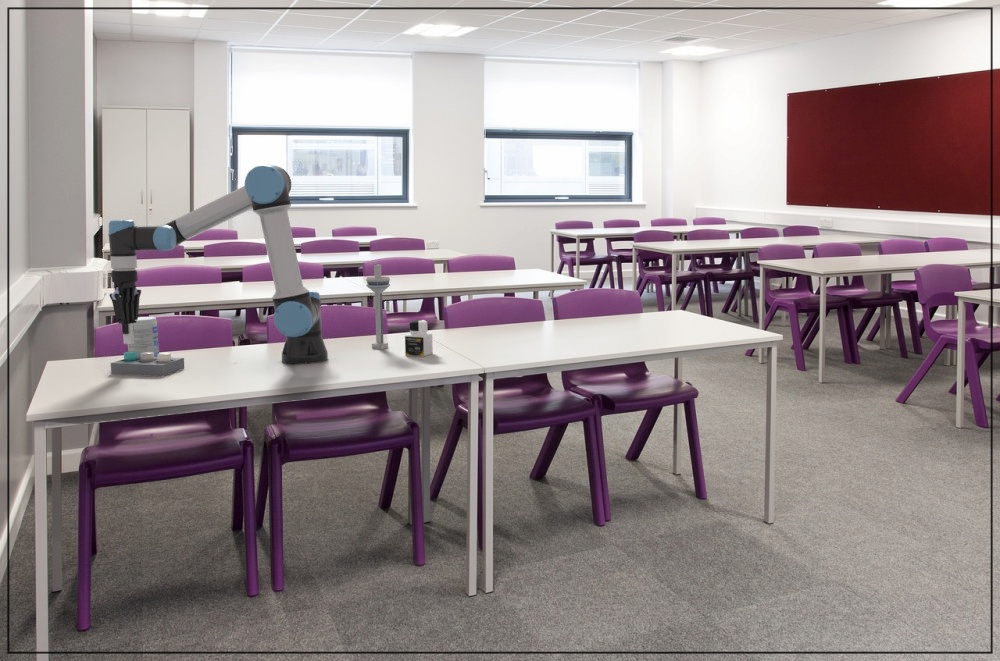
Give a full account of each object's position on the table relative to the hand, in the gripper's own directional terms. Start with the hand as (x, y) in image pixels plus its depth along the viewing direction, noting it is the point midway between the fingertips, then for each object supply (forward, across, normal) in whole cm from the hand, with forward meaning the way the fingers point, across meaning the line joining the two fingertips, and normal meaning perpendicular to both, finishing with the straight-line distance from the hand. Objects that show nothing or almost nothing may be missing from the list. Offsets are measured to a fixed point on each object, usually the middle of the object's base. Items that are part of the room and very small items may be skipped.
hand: (128, 343), depth 282 cm
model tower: (+8, -53, +64) cm, 84 cm away
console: (+9, 0, +6) cm, 11 cm away
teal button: (+6, 0, 0) cm, 6 cm away
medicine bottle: (+8, -43, +82) cm, 93 cm away
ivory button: (+6, 0, +12) cm, 14 cm away
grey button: (+6, 0, +6) cm, 9 cm away
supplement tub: (+9, -14, -5) cm, 17 cm away
